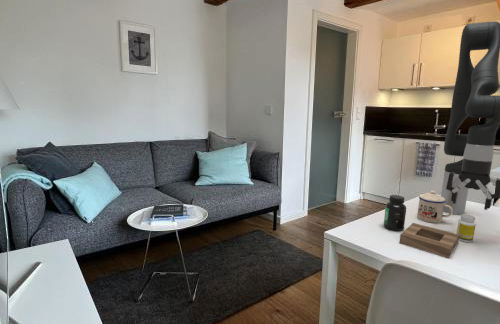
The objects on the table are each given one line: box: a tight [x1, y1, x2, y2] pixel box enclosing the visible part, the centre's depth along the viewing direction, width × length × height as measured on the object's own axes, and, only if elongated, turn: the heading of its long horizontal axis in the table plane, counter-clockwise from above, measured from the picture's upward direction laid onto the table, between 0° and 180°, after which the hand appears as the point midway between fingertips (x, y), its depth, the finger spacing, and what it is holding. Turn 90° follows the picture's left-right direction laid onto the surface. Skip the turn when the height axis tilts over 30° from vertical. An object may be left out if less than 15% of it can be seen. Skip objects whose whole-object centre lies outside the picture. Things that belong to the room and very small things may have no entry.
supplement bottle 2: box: [456, 213, 476, 243], centre depth 102 cm, size 5×5×8 cm
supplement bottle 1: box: [383, 194, 407, 232], centre depth 110 cm, size 7×7×12 cm
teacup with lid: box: [416, 190, 453, 224], centre depth 118 cm, size 12×9×12 cm
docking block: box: [399, 222, 460, 259], centre depth 99 cm, size 14×14×3 cm
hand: (469, 206), depth 100 cm, fingers open, 8 cm apart
